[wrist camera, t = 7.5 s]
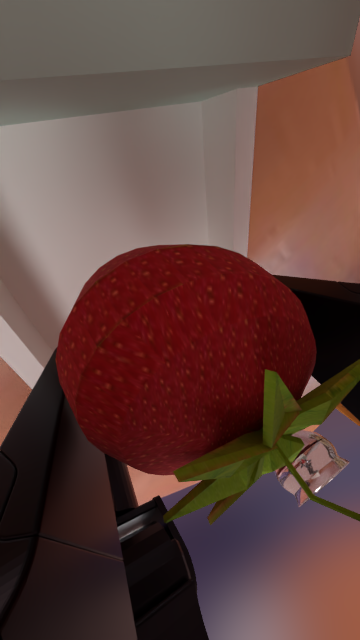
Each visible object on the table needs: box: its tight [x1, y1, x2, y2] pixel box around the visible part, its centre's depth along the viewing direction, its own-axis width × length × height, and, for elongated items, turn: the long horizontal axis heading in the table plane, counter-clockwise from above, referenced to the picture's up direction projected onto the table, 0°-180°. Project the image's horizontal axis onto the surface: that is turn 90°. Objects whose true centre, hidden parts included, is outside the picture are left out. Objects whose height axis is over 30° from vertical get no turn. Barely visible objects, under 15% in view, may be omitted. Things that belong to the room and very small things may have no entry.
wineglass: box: [275, 430, 349, 507], centre depth 26 cm, size 7×7×12 cm
